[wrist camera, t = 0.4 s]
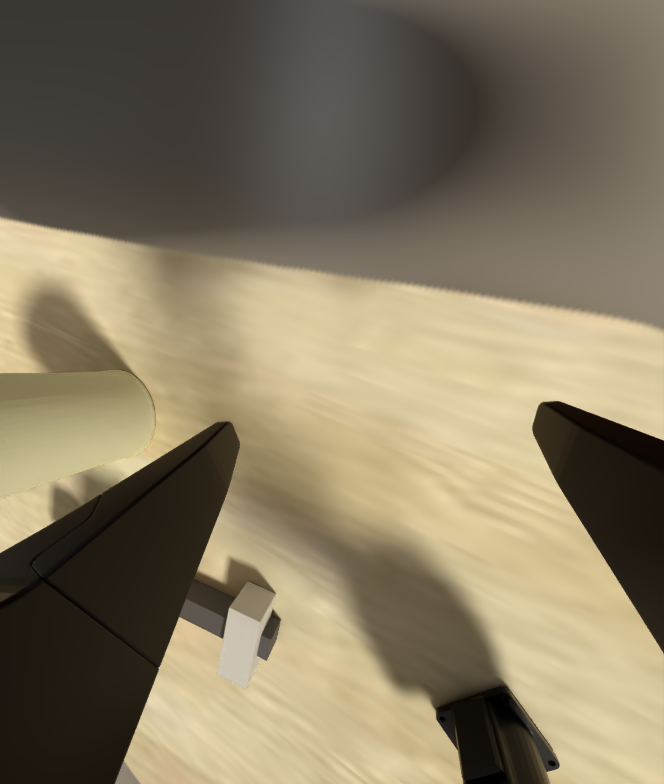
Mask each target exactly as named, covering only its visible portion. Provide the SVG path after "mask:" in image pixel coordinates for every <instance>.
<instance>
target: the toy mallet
mask: <svg viewBox="0 0 664 784" xmlns="http://www.w3.org/2000/svg"><path fill="white" fill-rule="evenodd" d="M275 596H276V594H275V593H273V592H271V591H268V590H266V589H264V588H262V587H259V586H257V585H255V584H253V583H250V582H247V583H246V585H245V586H244V587H243V589H242V590H241V592H240V593H239V594H238V596H237V597H236V599H235V598H233V597H230V596H228V595H226V594H224V593H222V592H220V591H217V590H215V589H213V588H211V587H209V586H207V585H204V584H202V583H200V582H198V581H196V580H193V582H192V585H191V587H190V590H189V593H188V595H187V598H186V600H185V603H184V606H183V608H182V611H181V613H180V616H179V617H181V618H183V619H185V620H187V621H189V622H191V623H193V624H195V625H197V626H199V627H201V628H203V629H205V630H207V631H209V632H211V633H213V634H214V635H216V636H218V637H220V638H222V639H223V643H222V648H221V653H220V659H219V664H218V669H217V675H219V676H221V677H223V678H225V679H226V680H228V681H230V682H232V683H234V684H236V685H238V686H239V687H241V688H243V689H245V690H246V689H247V687H248V685H249V683H250V681H251V679H252V677H253V675H254V672H255V670H256V668H257V666H258V664H259V662H260V660H261V658H262V659H264V660H266V661H267V659H268V657H269V655H270V652H271V650H272V648H273V646H274V644H275V642H276V639H277V635H278V630H279V626H280V621H281V620H280V619H278V618H276V617H274V616H271V615H272V610H273V605H274V601H275Z"/></svg>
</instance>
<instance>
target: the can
mask: <svg viewBox="0 0 664 784" xmlns="http://www.w3.org/2000/svg"><path fill="white" fill-rule="evenodd" d="M154 429H155V409H154V405H153V402H152V399H151V397H150V394H149V393H148V391H147V389H146V388H145V386H144V385H143V384H142V383H141V382H140V380H139V379H137V378H136V377H135V376H133V375H132V374H130V373H128V372H126V371H122V370H116V369H112V370H106V371H92V372H57V373H0V499H2V498H5V497H8V496H11V495H14V494H17V493H20V492H23V491H26V490H29V489H32V488H35V487H38V486H40V485H43V484H46V483H49V482H52V481H55V480H58V479H61V478H64V477H67V476H70V475H73V474H76V473H79V472H82V471H85V470H88V469H92V468H95V467H98V466H101V465H104V464H107V463H110V462H113V461H116V460H120V459H123V458H130V457H133V456H136V455H138V454H139V453H141V452H142V451H143V450H144V449H145V448H146V447H147V446H148V444H149V443H150V441H151V439H152V436H153V433H154Z"/></svg>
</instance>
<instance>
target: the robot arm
mask: <svg viewBox="0 0 664 784" xmlns="http://www.w3.org/2000/svg"><path fill="white" fill-rule="evenodd" d="M532 430H533V434H534V437H535V439H536V441H537V443H538V445H539V447H540V449H541V451H542V453H543V455H544V457H545V459H546V462H547V464H548V466H549V468H550V470H551V472H552V474H553V476H554V478H555V480H556V482H557V484H558V485H559V487H560V489H561V490H562V492H563V494H564V495H565V497H566V498H567V500H568V502H569V503H570V505H571V506H572V508H573V510H574V511H575V513H576V514H577V516H578V517H579V519H580V521H581V522H582V524H583V525H584V527H585V529H586V530H587V532H588V533H589V535H590V537H591V538H592V540H593V541H594V543H595V545H596V546H597V548H598V549H599V551H600V553H601V554H602V556H603V557H604V559H605V561H606V562H607V564H608V565H609V567H610V569H611V570H612V572H613V573H614V575H615V576H616V578H617V580H618V581H619V583H620V584H621V586H622V588H623V589H624V591H625V592H626V594H627V596H628V597H629V599H630V600H631V602H632V604H633V605H634V607H635V608H636V610H637V612H638V613H639V615H640V616H641V618H642V620H643V621H644V623H645V624H646V626H647V628H648V629H649V631H650V632H651V634H652V635H653V637H654V639H655V640H656V642H657V643H658V645H659V647H660V648H661V650H662V651H663V653H664V440H661V439H658V438H656V437H653V436H650V435H648V434H645V433H642V432H640V431H637V430H635V429H632V428H629V427H627V426H624V425H621V424H619V423H616V422H613V421H611V420H608V419H605V418H603V417H600V416H597V415H595V414H592V413H589V412H587V411H584V410H581V409H579V408H576V407H573V406H571V405H568V404H566V403H563V402H560V401H550V402H542V403H540V404H539V406H538V409H537V412H536V416H535V419H534V423H533V427H532ZM239 448H240V442H239V439H238V436H237V434H236V431H235V429H234V426H233V424H232V423H231V422H229V421H224V422H217V423H215V424H213V425H212V426H210V427H208V428H207V429H205V430H204V431H202V432H200V433H199V434H197V435H195V436H194V437H192V438H191V439H189V440H187V441H186V442H184V443H183V444H181V445H179V446H178V447H176V448H174V449H173V450H171V451H170V452H168V453H166V454H165V455H163V456H162V457H160V458H158V459H157V460H155V461H153V462H152V463H150V464H149V465H147V466H145V467H144V468H142V469H141V470H139V471H137V472H136V473H134V474H132V475H131V476H129V477H128V478H126V479H124V480H123V481H121V482H120V483H118V484H116V485H115V486H113V487H112V488H110V489H108V490H107V491H105V492H104V493H103V494H102V495H98V496H97V497H95V498H94V499H92V500H90V501H89V502H87V503H86V504H84V505H82V506H81V507H79V508H77V509H76V510H74V511H72V512H71V513H69V514H67V515H66V516H64V517H62V518H61V519H59V520H57V521H56V522H54V523H52V524H50V525H49V526H47V527H45V528H43V529H42V530H40V531H38V532H36V533H35V534H33V535H31V536H29V537H28V538H26V539H24V540H22V541H21V542H19V543H17V544H15V545H14V546H12V547H10V548H8V549H6V550H5V551H3V552H1V553H0V784H115V782H116V779H117V777H118V774H119V771H120V769H121V766H122V764H123V761H124V758H125V756H126V753H127V751H128V748H129V746H130V743H131V740H132V738H133V735H134V733H135V730H136V728H137V725H138V722H139V720H140V717H141V715H142V712H143V709H144V707H145V704H146V702H147V699H148V697H149V694H150V691H151V689H152V686H153V684H154V681H155V678H156V676H157V673H158V671H159V668H158V667H160V665H161V662H162V660H163V657H164V655H165V652H166V649H167V647H168V644H169V642H170V639H171V637H172V634H173V631H174V629H175V626H176V624H177V621H178V618H179V616H180V613H181V611H182V608H183V606H184V603H185V600H186V598H187V595H188V593H189V590H190V587H191V585H192V582H193V580H194V577H195V575H196V572H197V569H198V567H199V564H200V562H201V559H202V556H203V554H204V551H205V549H206V546H207V544H208V541H209V538H210V536H211V533H212V531H213V528H214V525H215V523H216V520H217V518H218V515H219V513H220V510H221V507H222V505H223V502H224V500H225V497H226V494H227V491H228V488H229V485H230V481H231V478H232V474H233V470H234V467H235V463H236V459H237V455H238V452H239ZM504 695H506V696H504ZM436 719H437V721H438V723H439V724H440V725H441V727H442V728H443V730H444V731H445V733H446V734H447V736H448V737H449V738H450V740H451V741H452V743H453V744H454V746H455V747H456V749H457V750H458V754H459V760H460V767H461V774H462V778H463V784H550V781H549V778H548V775H547V773H546V772H548V771H552V770H556V769H558V768H559V762H558V759H557V757H556V755H555V753H554V752H553V750H552V749H551V748H550V746H549V745H548V743H547V742H546V741H545V739H544V738H543V736H542V735H541V734H540V732H539V731H538V729H537V728H536V727H535V725H534V724H533V722H532V721H531V720H530V718H529V717H528V715H527V714H526V713H525V711H524V710H523V708H522V707H521V706H520V704H519V703H518V701H517V700H516V699H515V697H514V696H513V694H512V693H511V692H510V690H509V689H508V688H506V687H498V688H495V689H492V690H489V691H486V692H483V693H481V694H478V695H475V696H472V697H469V698H466V699H463V700H460V701H457V702H454V703H451V704H448V705H446V706H443V707H440V708H438V709H436Z"/></svg>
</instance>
